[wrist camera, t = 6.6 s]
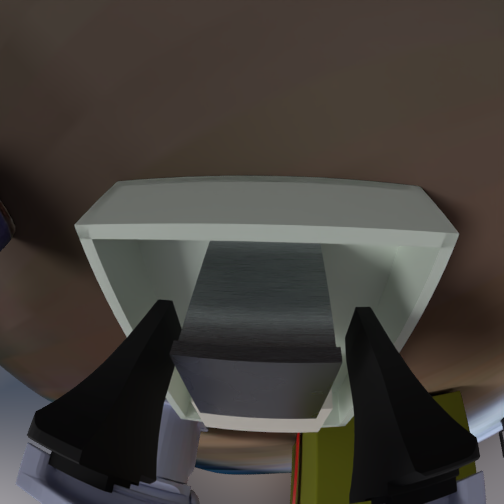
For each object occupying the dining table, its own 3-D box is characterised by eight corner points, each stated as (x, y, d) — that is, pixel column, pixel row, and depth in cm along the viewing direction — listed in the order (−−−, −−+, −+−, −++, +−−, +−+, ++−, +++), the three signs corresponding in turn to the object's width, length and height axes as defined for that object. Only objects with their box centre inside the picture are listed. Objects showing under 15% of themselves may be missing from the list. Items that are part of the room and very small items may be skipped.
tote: (342, 388, 22) (344, 426, 19) (188, 382, 23) (180, 418, 20) (419, 186, 10) (459, 233, 8) (117, 181, 11) (74, 224, 9)
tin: (310, 306, 14) (316, 418, 10) (221, 303, 15) (200, 412, 10) (320, 231, 12) (342, 362, 7) (210, 229, 12) (169, 354, 7)
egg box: (316, 385, 20) (318, 432, 17) (213, 380, 21) (205, 426, 17) (328, 351, 17) (332, 408, 14) (203, 346, 18) (191, 401, 14)
